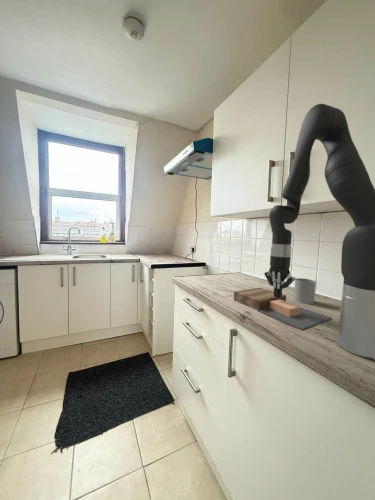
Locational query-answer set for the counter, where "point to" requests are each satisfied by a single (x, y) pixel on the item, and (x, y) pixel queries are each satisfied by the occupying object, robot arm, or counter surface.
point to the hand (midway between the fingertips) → (277, 297)
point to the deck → (257, 298)
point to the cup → (304, 290)
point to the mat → (297, 318)
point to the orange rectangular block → (285, 308)
